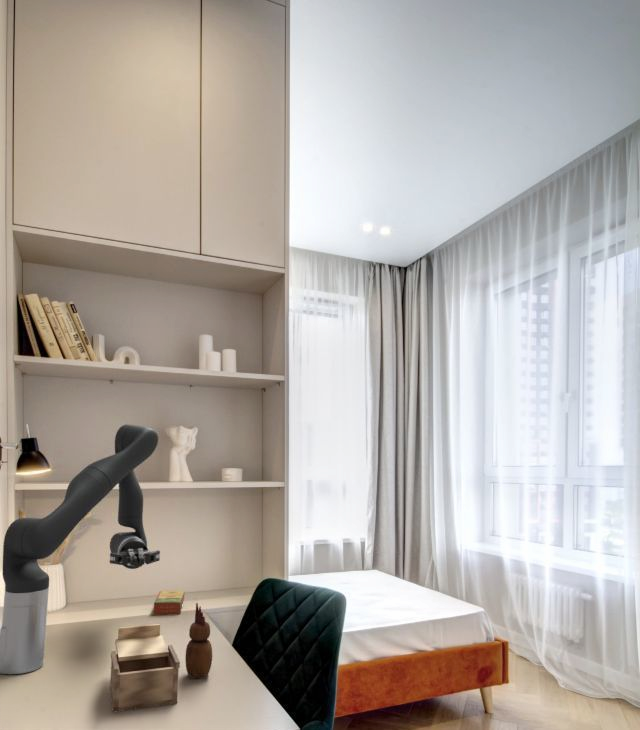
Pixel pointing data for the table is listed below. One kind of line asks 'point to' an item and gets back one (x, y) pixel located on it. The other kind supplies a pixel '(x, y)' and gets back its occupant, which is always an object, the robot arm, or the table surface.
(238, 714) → the table surface
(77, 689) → the table surface
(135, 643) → the lid
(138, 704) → the light wooden box
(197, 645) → the wooden figurine
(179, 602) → the carton
